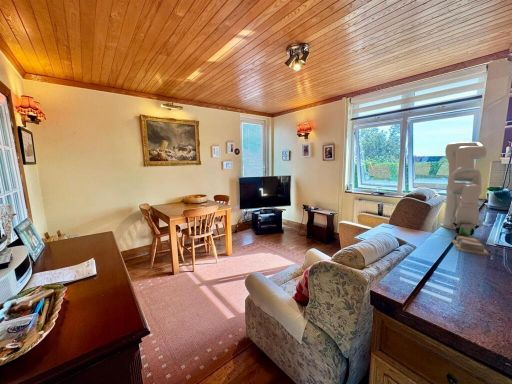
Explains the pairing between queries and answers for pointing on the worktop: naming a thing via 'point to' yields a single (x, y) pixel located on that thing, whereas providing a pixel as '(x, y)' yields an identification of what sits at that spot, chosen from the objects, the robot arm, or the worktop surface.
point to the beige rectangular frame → (469, 245)
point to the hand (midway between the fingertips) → (464, 234)
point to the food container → (465, 230)
